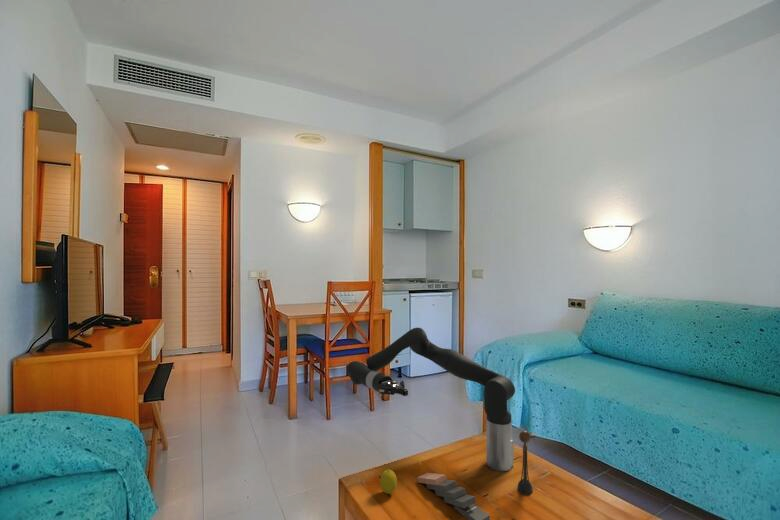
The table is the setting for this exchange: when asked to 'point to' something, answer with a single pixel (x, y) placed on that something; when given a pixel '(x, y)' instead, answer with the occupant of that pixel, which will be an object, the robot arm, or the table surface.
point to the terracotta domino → (431, 478)
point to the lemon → (388, 481)
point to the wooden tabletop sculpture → (525, 465)
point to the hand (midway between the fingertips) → (406, 393)
